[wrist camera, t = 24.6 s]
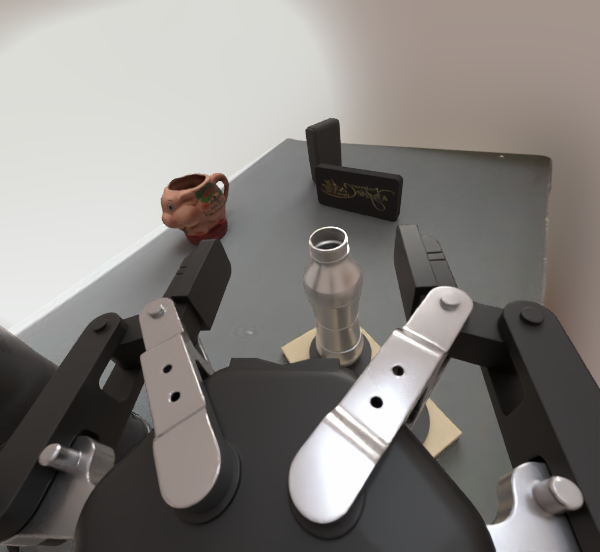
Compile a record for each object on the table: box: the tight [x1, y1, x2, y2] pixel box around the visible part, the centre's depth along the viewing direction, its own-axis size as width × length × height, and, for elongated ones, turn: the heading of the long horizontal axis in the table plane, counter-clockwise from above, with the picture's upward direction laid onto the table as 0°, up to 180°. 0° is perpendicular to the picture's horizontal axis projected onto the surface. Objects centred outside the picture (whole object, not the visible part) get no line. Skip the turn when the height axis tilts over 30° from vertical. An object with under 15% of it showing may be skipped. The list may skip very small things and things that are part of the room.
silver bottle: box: [303, 227, 364, 367], centre depth 33 cm, size 6×7×20 cm
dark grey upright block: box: [306, 118, 342, 182], centre depth 78 cm, size 9×4×15 cm, turn 124°
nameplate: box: [315, 164, 403, 221], centre depth 65 cm, size 21×2×10 cm, turn 53°
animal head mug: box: [161, 173, 229, 245], centre depth 67 cm, size 20×12×14 cm, turn 153°
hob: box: [281, 326, 462, 458], centre depth 37 cm, size 12×22×3 cm, turn 30°
